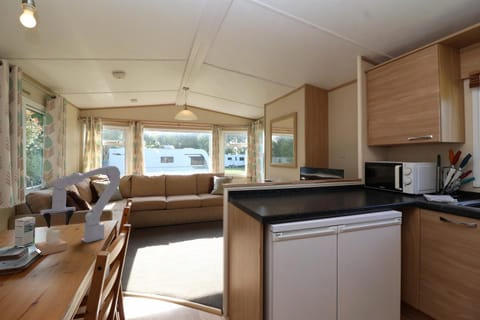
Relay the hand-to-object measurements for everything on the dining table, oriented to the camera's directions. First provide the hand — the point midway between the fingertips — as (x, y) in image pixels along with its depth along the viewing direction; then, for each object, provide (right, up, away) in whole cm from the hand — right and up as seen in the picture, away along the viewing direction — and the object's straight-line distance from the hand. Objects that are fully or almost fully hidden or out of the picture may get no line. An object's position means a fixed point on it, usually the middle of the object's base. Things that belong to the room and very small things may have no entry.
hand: (58, 226), depth 119 cm
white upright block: (+3, -7, -7) cm, 10 cm away
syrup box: (-16, -10, -2) cm, 19 cm away
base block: (+2, -11, -7) cm, 13 cm away
